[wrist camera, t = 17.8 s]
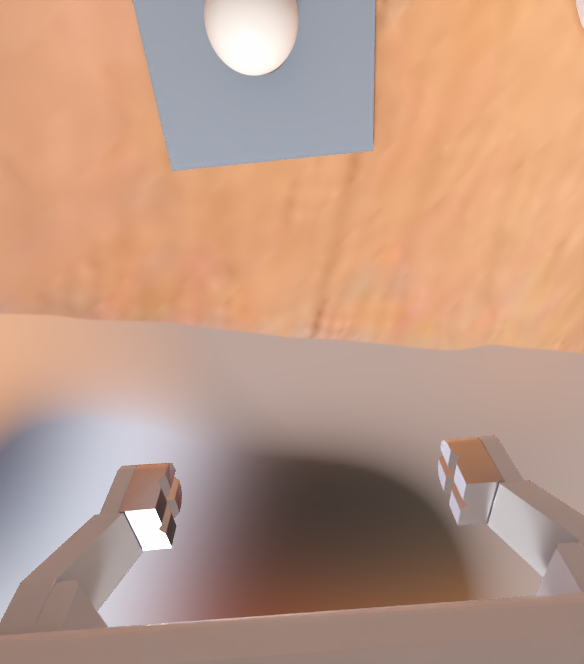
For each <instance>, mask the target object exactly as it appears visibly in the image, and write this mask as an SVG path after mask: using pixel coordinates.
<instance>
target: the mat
mask: <svg viewBox="0 0 584 664" xmlns="http://www.w3.org/2000/svg"><path fill="white" fill-rule="evenodd" d="M296 3H297V8H298V32H297V37H296V40H295V43H294V46H293V48H292V50H291V52H290V54H289V56H288V57H287V59H286V61H285V62H284V63H283V65H282V66H281V67H280V68H278V69H277V70H276V71H274V72H272V73H269V74H265V75H258V76H251V75H245V74H241V73H239V72H237V71H235V70H233V69H231V68H230V67H229V66H227V65H226V64H225V63H224V62H223V61H222V60H221V59H220V58H219V56H218V55H217V54H216V52H215V51H214V49H213V47H212V45H211V43H210V41H209V38H208V35H207V32H206V27H205V21H204V5H205V0H133V4H134V8H135V12H136V17H137V21H138V25H139V30H140V34H141V38H142V43H143V47H144V51H145V56H146V60H147V64H148V69H149V73H150V77H151V82H152V86H153V90H154V95H155V99H156V103H157V108H158V112H159V116H160V121H161V125H162V129H163V134H164V138H165V142H166V147H167V151H168V155H169V160H170V164H171V168H172V171H176V170H186V169H196V168H206V167H216V166H226V165H236V164H246V163H256V162H266V161H276V160H286V159H296V158H306V157H316V156H326V155H336V154H346V153H356V152H366V151H373V121H374V55H375V0H296Z"/></svg>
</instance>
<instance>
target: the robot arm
mask: <svg viewBox="0 0 584 664" xmlns="http://www.w3.org/2000/svg"><path fill="white" fill-rule="evenodd" d="M576 5H577V10H578V14H579V18H580V21H581V23H582V26H583V28H584V0H576ZM440 449H441V451H442V454H443V456H441V457H440V458H439V461H438V472H439V479H440V482H441V485H442V488H443V490H444V492H446V493H447V494H448V495H450V496H451V497H450V503H449V505H450V508H451V510H452V513H453V515H454V517H455V520H456V522H457V525H470V524H471V525H472V524H488V526H489V527H490V528H491V529H492V530H493V531H494V532H495V533H496V534H497V535H499V536H500V537H501V538H502V539H503V540H504V541H505V542H506V543H507V544H508V545H509V546H510V547H512V548H513V549H514V550H515V551H516V552H517V553H518V554H519V555H520V556H521V557H522V558H523V559H524V560H525V561H526V562H527V563H529V564H530V565H531V566H532V567H533V568H534V569H535V570H536V571H537V572H538V573H539V574H540V575H541V576H542V577H543V579H542V581H541V583H540V586H539V588H538V590H537V593H536V595H535V596H527V597H514V598H500V599H486V600H473V601H459V602H445V603H431V604H418V605H404V606H391V607H377V608H364V609H349V610H335V611H322V612H309V613H295V614H283V615H269V616H255V617H242V618H229V619H214V620H200V621H187V622H175V623H160V624H146V625H133V626H119V627H108V626H107V624H106V622H105V621H104V620H103V618H102V617H101V615H100V614H99V613H98V610H99V608H100V607H101V606H102V605H103V603H104V602H105V601H106V599H107V598H108V597H109V596H110V594H111V593H112V592H113V590H114V589H115V588H116V586H117V585H118V584H119V583H120V581H121V580H122V579H123V577H124V576H125V575H126V573H127V572H128V571H129V570H130V568H131V567H132V566H133V564H134V563H135V562H136V561H137V559H138V558H139V557H140V555H141V554H142V552H143V550H152V549H162V548H171V547H172V543H173V538H174V534H175V530H176V524H175V521H174V518H175V517H176V515H177V514H178V513H179V512H180V508H181V503H182V490H181V484H180V481H179V480H178V479H176V478H175V477H174V475H175V471H176V470H175V468H174V466H173V463H161V464H146V465H145V464H144V465H130V466H122V467H121V468H120V469H119V470H118V472H117V474H116V476H115V479H114V481H113V484H112V486H111V488H110V491H109V493H108V495H107V498H106V500H105V503H104V505H103V508H102V510H101V513H100V514H99V515H94V516H93V517H92V518H91V519H90V520H89V521H88V522H87V523H85V524H84V525H83V526H82V527H81V528H80V529H79V530H78V531H77V532H76V533H74V534H73V535H72V536H71V537H70V538H69V539H68V540H67V541H66V542H65V543H63V544H62V545H61V546H60V547H59V548H58V549H57V550H56V551H55V552H54V553H53V554H51V555H50V556H49V557H48V558H47V559H46V560H45V561H44V562H43V563H42V564H41V565H39V566H38V567H37V568H36V569H35V570H34V571H33V572H32V573H31V574H30V575H29V576H27V577H26V578H25V579H24V580H23V581H22V582H21V583H20V585H19V587H18V589H17V591H16V593H15V595H14V597H13V598H12V600H11V602H10V604H9V606H8V608H7V610H6V612H5V614H4V616H3V618H2V620H1V622H0V664H584V516H583V515H582V514H580V513H579V512H577V511H576V510H574V509H573V508H571V507H570V506H568V505H567V504H565V503H564V502H562V501H560V500H559V499H557V498H556V497H554V496H553V495H551V494H550V493H548V492H547V491H545V490H544V489H542V488H541V487H539V486H537V485H536V484H534V483H533V482H531V481H530V480H524V479H523V478H522V476H521V475H520V473H519V471H518V470H517V468H516V467H515V465H514V463H513V462H512V460H511V459H510V457H509V455H508V454H507V452H506V451H505V449H504V447H503V446H502V444H501V443H500V441H499V439H498V438H497V437H496V436H483V437H468V438H458V439H448V440H443V441H442V443H441V447H440Z"/></svg>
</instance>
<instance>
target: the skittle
mask: <svg viewBox="0 0 584 664" xmlns="http://www.w3.org/2000/svg"><path fill="white" fill-rule="evenodd" d="M204 21H205V27H206V32H207V35H208V38H209V41H210V43H211V45H212V47H213V49H214V51H215V52H216V54H217V55H218V56H219V58H220V59H221V60H222V61H223V62H224V63H225V64H226V65H227V66H229V67H230V68H231V69H233V70H235V71H237V72H239V73H241V74H245V75H251V76H258V75H265V74H269V73H272V72H274V71H276V70H277V69H278V68H280V67H281V66H282V65H283V63H284V62H285V61H286V59H287V57H288V56H289V54H290V52H291V50H292V48H293V46H294V43H295V40H296V37H297V32H298V8H297V3H296V0H205V5H204Z"/></svg>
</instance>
